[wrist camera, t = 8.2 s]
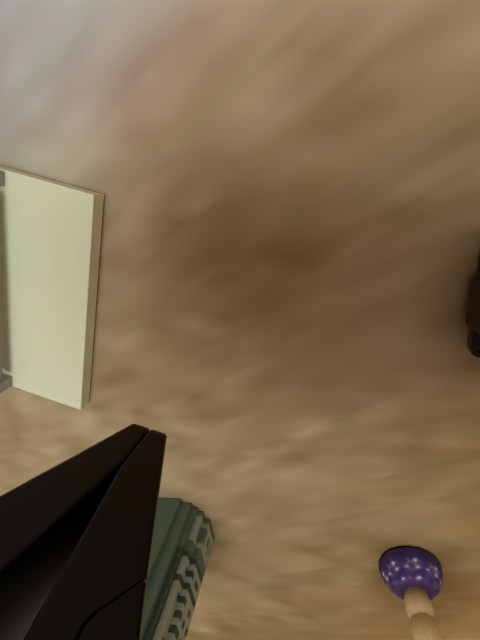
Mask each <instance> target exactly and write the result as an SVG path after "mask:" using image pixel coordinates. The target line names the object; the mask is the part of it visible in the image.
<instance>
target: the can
mask: <svg viewBox="0 0 480 640" xmlns="http://www.w3.org/2000/svg"><path fill="white" fill-rule="evenodd" d="M213 541H214V534H213V530H212V526H211V522H210V519H205V517H204V513H203V511H198V508H197V507H192V504H191V503H182V501H181V499H170V498H158V504H157V511H156V518H155V526H154V533H153V540H152V548H151V555H150V562H149V569H148V577H147V582H146V584H147V586H146V593H145V600H144V608H143V617H142V627H141V636H140V640H185V639H186V636H187V632H188V629H189V625H190V622H191V618H192V614H193V611H194V607H195V604H196V600H197V597H198V593H199V590H200V586H201V583H202V579H203V576H204V572H205V569H206V565H207V562H208V558H209V555H210V551H211V548H212V544H213Z"/></svg>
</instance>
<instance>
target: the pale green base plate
mask: <svg viewBox="0 0 480 640" xmlns="http://www.w3.org/2000/svg"><path fill="white" fill-rule="evenodd" d="M103 203H104V194H101V193H97V192H93V191H90V190H86V189H83V188H79V187H76V186H72V185H69V184H65V183H61V182H58V181H54V180H51V179H47V178H44V177H40V176H37V175H33V174H29V173H26V172H22V171H19V170H15V169H12V168H8V167H5V166H1V165H0V329H1V349H2V368H3V378H2V379H1V380H0V393H2V392H3V391H5V390H6V389H8V388H9V387H11V386H13V387H16V388H19V389H22V390H25V391H28V392H31V393H34V394H36V395H39V396H42V397H45V398H48V399H51V400H54V401H57V402H59V403H62V404H65V405H68V406H71V407H74V408H77V409H80V410H81V409H82V408H83V407H84V406H85V405H86V404H87V403H88V402H89V395H90V382H91V368H92V354H93V340H94V327H95V313H96V299H97V286H98V272H99V258H100V244H101V231H102V217H103Z"/></svg>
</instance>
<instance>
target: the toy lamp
mask: <svg viewBox="0 0 480 640" xmlns="http://www.w3.org/2000/svg"><path fill="white" fill-rule="evenodd" d="M379 570H380V573H381V576H382V578H383V580H384V582H385V584H386V585H387V586H388V587H389V589H390V590H391V591H392V592H393V593H395V594H396V595H397V596H399V597H400V598H402V599H404V605H405V609H406V612H407V614H408V616H409V618H410V620H411V622H410V628H411V635H412V638H413V640H442V636H441V632H440V630H439V628H438V625H437V624H436V622H435V621H434V610H433V606H432V603H431V601H430V600H431V599H433V598H434V597H435V596H436V595H437V594H438V593H439V591H440V589H441V586H442V582H443V576H442V569H441V565H440V563H439V561H438V560H437V559H436V557H434V556H433V555H432V554H431V553H429V552H427V551H425V550H422V549H419V548H411V547H403V548H396V549H393V550H390V551H388V552H386V553H385V554H384V555H383V556H382V558H381V560H380V562H379Z"/></svg>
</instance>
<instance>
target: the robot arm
mask: <svg viewBox="0 0 480 640" xmlns="http://www.w3.org/2000/svg"><path fill="white" fill-rule="evenodd" d="M466 324H467V325H468V326H469V327H470V333H469V340H468V350H469V351H470V352H471V353H472V354H473V355H474V356H476V357H480V350H476V348H477V347H478V346H479V345H480V258H479V265H478V273H477V274H476V275H475V276H474V277H473V278H472V280H471V287H470V295H469V303H468V311H467V319H466ZM166 438H167V436H166V434H164V433H161V432H158V431H155V430H149V429H148V428H146V427H143V426H140V425H137V424H132V425H130V426H128V427H126V428H124V429H122V430H121V431H119V432H117V433H115V434H113V435H111V436H110V437H108V438H106V439H104V440H102V441H100V442H99V443H97V444H95V445H93V446H91V447H89V448H88V449H86V450H84V451H82V452H80V453H78V454H77V455H75V456H73V457H71V458H69V459H67V460H66V461H64V462H62V463H60V464H58V465H56V466H55V467H53V468H51V469H49V470H47V471H45V472H44V473H42V474H40V475H38V476H36V477H35V478H33V479H31V480H29V481H27V482H25V483H24V484H22V485H20V486H18V487H16V488H14V489H13V490H11V491H9V492H7V493H5V494H3V495H2V496H0V640H140V636H141V627H142V617H143V608H144V600H145V593H146V586H147V584H146V582H147V577H148V569H149V562H150V555H151V548H152V540H153V533H154V526H155V518H156V511H157V504H158V496H159V489H160V482H161V474H162V467H163V460H164V452H165V445H166Z"/></svg>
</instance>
